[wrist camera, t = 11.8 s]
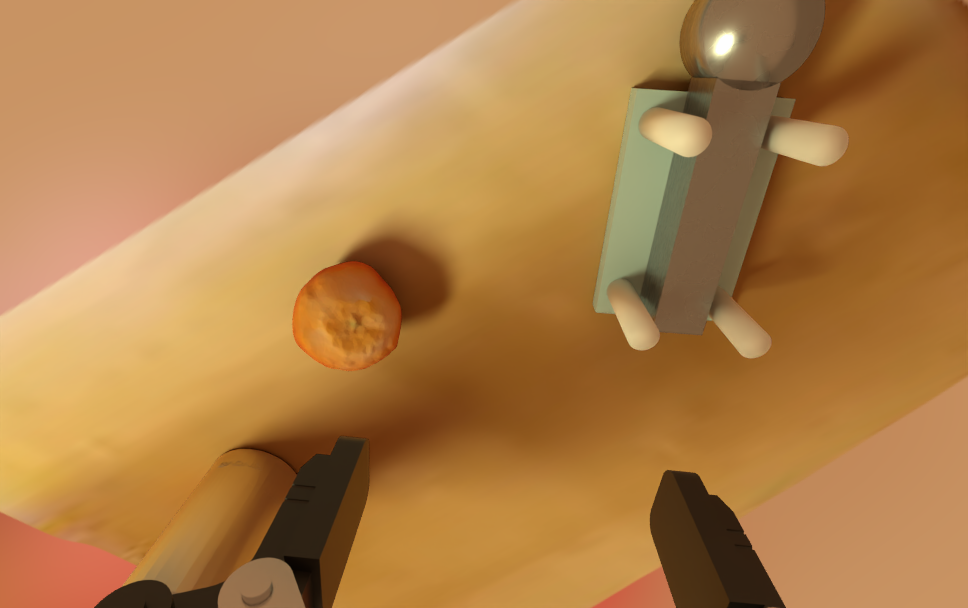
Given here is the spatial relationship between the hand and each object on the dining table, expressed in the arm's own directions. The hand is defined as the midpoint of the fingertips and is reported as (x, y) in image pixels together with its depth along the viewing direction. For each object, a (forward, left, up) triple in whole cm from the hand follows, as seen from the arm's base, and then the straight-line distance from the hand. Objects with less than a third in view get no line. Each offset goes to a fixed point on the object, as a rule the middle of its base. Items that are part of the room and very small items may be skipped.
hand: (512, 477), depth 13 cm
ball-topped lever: (+6, -12, -24) cm, 28 cm away
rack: (+1, -12, -25) cm, 28 cm away
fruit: (-8, +12, -26) cm, 29 cm away
